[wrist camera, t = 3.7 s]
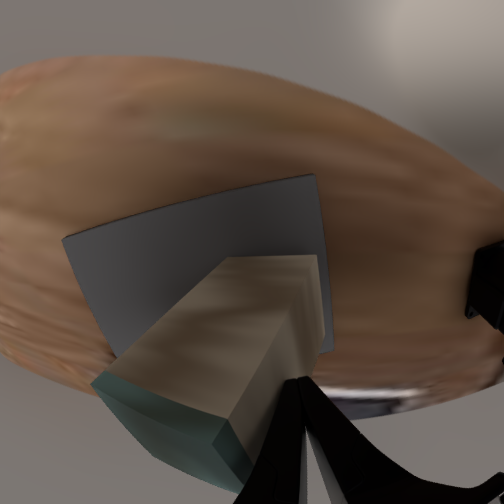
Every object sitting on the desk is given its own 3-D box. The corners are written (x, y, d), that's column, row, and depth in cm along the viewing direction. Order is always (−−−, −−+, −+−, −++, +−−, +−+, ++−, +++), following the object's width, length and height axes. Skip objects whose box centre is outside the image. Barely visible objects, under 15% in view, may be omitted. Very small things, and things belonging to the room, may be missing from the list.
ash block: (316, 254, 13) (211, 444, 5) (325, 334, 15) (256, 499, 7) (227, 257, 15) (90, 384, 7) (247, 328, 17) (153, 456, 9)
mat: (312, 173, 14) (315, 174, 14) (332, 345, 19) (334, 350, 18) (66, 236, 15) (61, 239, 15) (131, 373, 20) (129, 377, 19)
